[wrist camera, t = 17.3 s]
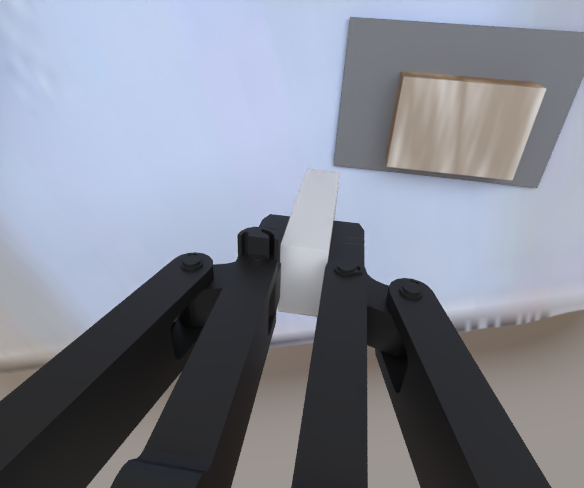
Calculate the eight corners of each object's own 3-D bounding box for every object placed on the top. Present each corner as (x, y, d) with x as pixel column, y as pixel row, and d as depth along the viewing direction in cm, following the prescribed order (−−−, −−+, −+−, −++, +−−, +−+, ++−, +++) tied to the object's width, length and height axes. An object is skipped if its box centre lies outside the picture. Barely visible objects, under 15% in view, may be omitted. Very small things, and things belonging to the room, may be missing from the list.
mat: (334, 163, 37) (333, 165, 37) (350, 17, 31) (350, 17, 30) (535, 185, 35) (537, 187, 35) (596, 33, 29) (601, 33, 28)
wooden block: (386, 166, 33) (512, 180, 32) (403, 76, 29) (546, 88, 28) (385, 155, 35) (502, 167, 34) (401, 71, 32) (532, 81, 31)
